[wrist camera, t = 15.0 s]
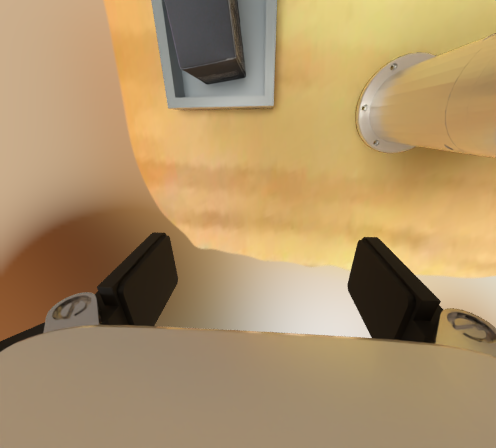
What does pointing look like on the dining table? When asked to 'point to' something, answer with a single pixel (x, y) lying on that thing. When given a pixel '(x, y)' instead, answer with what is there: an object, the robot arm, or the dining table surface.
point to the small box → (207, 38)
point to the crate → (228, 92)
